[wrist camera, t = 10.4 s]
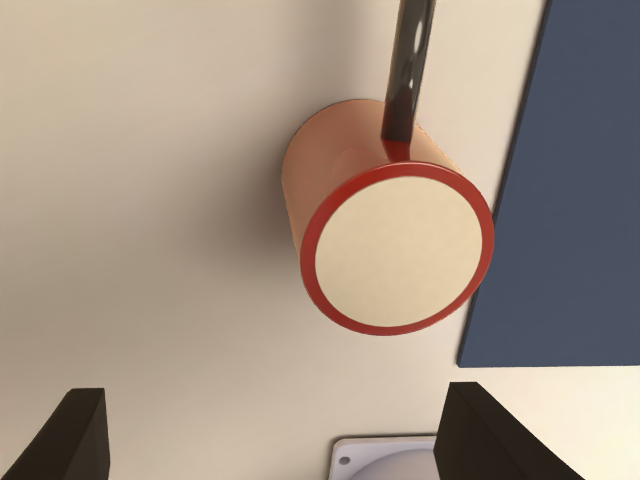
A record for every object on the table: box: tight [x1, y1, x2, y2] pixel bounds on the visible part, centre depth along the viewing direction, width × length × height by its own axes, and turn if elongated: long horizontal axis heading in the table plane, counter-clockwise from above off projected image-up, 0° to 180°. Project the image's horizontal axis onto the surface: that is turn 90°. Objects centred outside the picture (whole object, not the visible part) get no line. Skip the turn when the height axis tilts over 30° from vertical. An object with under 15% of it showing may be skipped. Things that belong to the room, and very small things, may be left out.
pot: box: [282, 0, 494, 336], centre depth 18 cm, size 11×5×6 cm, turn 174°
